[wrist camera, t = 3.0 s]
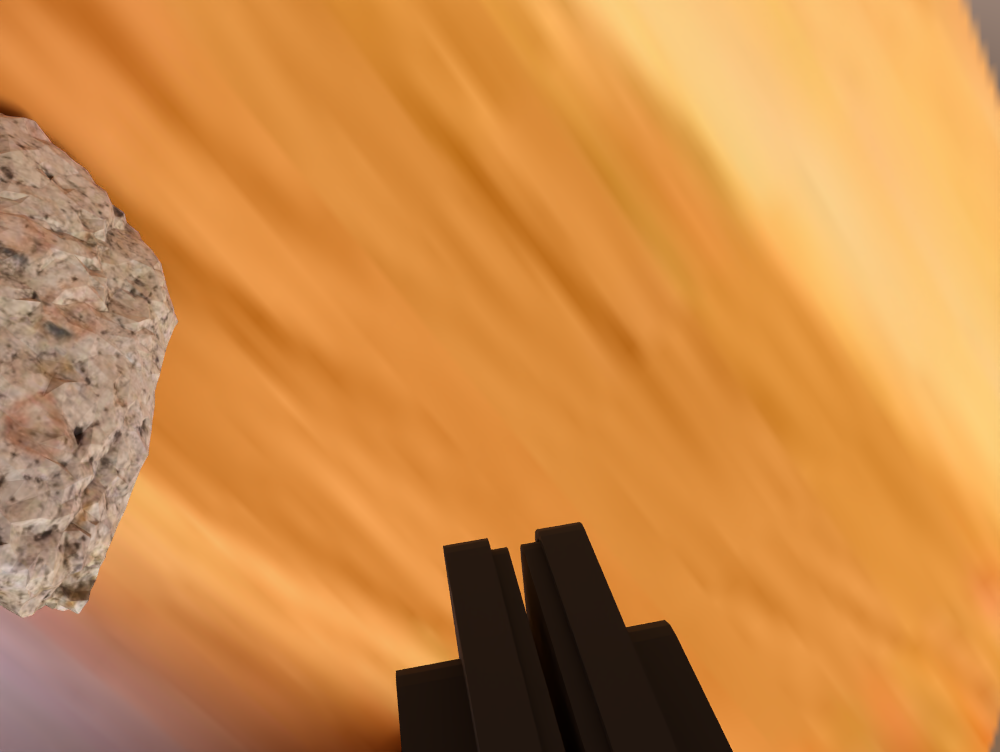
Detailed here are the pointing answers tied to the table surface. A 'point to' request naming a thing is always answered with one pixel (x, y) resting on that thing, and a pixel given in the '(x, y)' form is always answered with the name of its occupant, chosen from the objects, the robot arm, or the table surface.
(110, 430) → the rock
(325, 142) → the table surface
